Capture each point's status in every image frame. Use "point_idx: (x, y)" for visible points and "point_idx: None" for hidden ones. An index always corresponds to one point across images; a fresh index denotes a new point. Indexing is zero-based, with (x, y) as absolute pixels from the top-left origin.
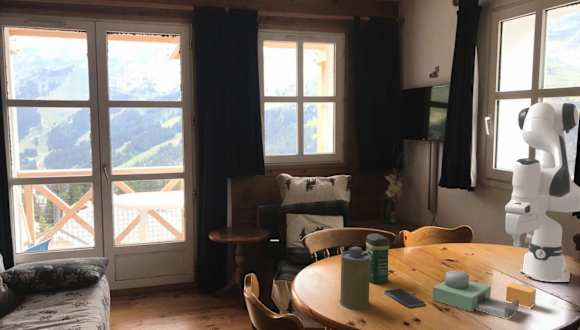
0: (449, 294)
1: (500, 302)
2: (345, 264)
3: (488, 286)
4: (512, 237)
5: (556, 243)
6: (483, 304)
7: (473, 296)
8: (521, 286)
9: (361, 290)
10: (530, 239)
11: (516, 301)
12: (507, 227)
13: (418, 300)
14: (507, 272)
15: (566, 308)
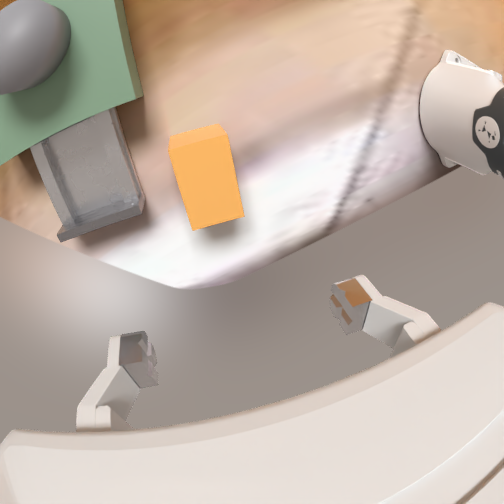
0: None
1: (110, 163)
2: None
3: (123, 98)
4: (82, 400)
5: None
6: (71, 134)
7: (5, 159)
8: (222, 176)
9: None
10: (343, 329)
11: (123, 217)
12: (3, 484)
13: None
14: (424, 24)
15: (283, 242)
